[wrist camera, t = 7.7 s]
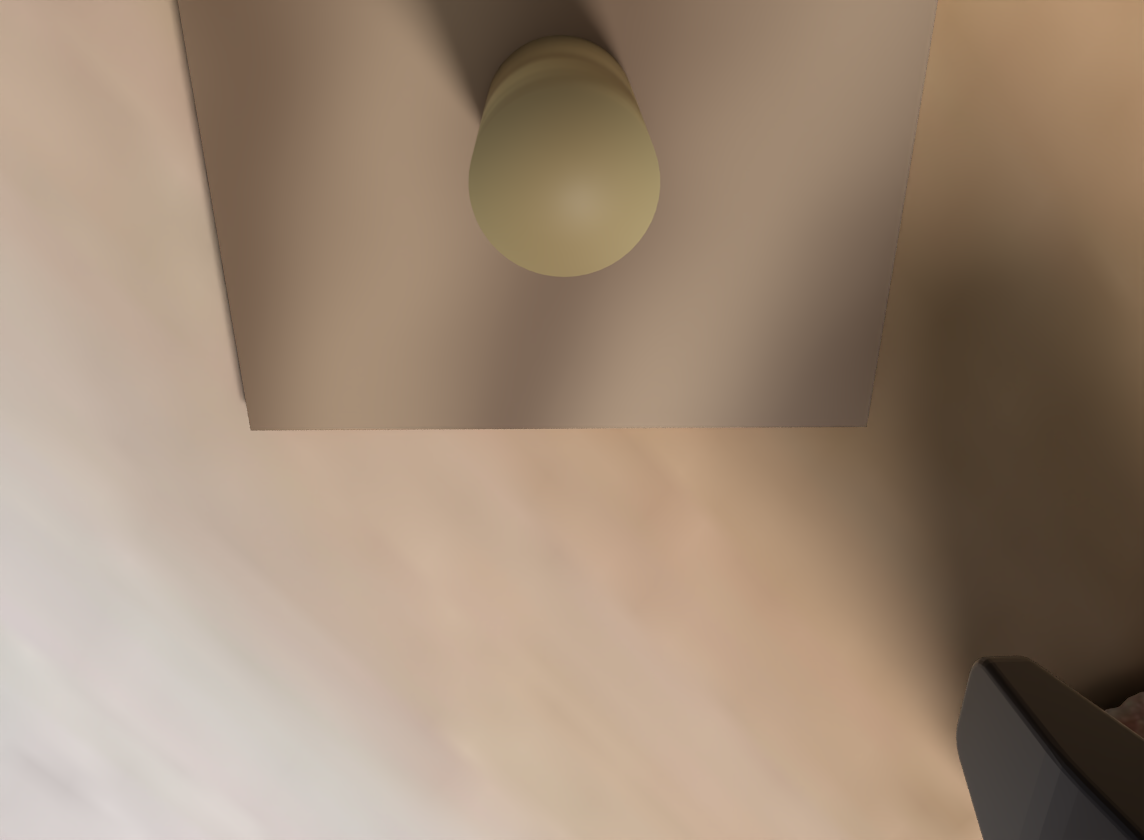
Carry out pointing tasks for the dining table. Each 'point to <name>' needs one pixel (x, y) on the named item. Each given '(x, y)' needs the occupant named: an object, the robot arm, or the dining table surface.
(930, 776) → the dining table surface
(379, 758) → the dining table surface
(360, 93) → the lid
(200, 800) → the dining table surface
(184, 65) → the dining table surface
